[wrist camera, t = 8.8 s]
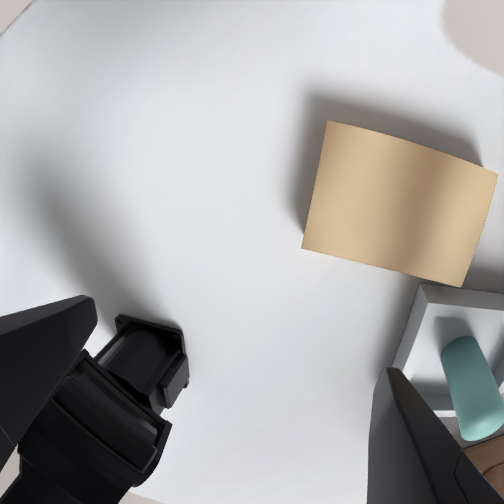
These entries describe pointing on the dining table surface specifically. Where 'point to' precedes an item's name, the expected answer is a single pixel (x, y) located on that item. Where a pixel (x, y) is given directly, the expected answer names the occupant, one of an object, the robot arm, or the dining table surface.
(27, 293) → the dining table surface
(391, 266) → the board
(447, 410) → the tray
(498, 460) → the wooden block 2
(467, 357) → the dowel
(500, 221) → the dining table surface
